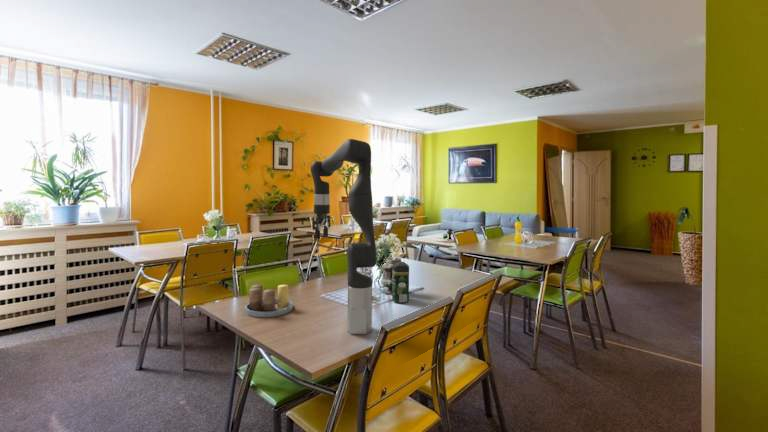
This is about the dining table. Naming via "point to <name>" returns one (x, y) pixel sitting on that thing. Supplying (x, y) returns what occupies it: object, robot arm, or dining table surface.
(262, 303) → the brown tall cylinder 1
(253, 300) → the brown cylinder
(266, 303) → the brown cylinder
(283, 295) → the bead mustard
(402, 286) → the coffee jar
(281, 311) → the tray
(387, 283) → the apothecary jar
